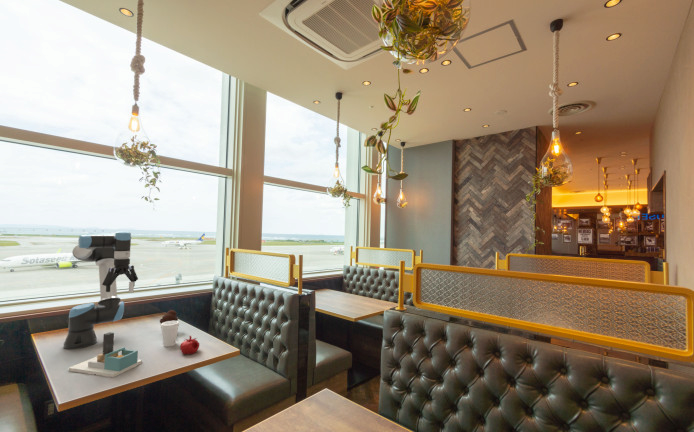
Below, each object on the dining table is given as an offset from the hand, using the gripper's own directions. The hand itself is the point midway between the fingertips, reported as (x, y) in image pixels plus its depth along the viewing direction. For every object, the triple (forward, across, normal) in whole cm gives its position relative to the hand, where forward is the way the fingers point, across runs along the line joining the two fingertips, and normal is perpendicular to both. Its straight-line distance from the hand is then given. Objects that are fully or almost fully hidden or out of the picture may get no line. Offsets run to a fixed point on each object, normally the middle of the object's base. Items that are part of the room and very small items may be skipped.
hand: (120, 295), depth 179 cm
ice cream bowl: (+32, +32, -5) cm, 45 cm away
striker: (+30, -18, -14) cm, 38 cm away
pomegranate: (+32, +8, -41) cm, 53 cm away
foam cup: (+32, +15, -21) cm, 41 cm away
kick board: (+32, -18, -14) cm, 39 cm away
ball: (+28, -18, -21) cm, 39 cm away
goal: (+30, -18, -22) cm, 42 cm away
